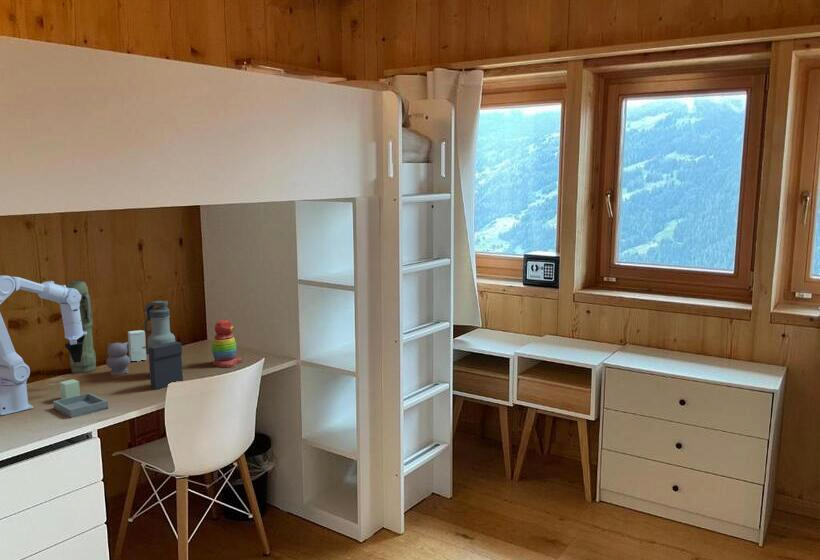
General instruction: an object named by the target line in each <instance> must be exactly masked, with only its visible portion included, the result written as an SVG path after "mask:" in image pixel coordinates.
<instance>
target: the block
mask: <svg viewBox="0 0 820 560" xmlns="http://www.w3.org/2000/svg"><path fill="white" fill-rule="evenodd" d="M59 387H60V388H59V389H60V391H59V392H60V399H65V398H69V397H73V396H77V395H81V388H80V381H78V380H76V379H74V378H73V379H68V380H63V381H60V382H59Z"/></svg>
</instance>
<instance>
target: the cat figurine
mask: <svg viewBox="0 0 820 560" xmlns="http://www.w3.org/2000/svg"><path fill="white" fill-rule="evenodd" d="M106 352H107V354H108V357H107V359H106V361H105V362H106V366H107V367H108V368H109V369H111V370H110V371H109V373H111V374H112V375H111V374H110V375H111V376H113V375H119V376H122V375H121V374H125V373H127V374H129V368H128V367H129V365H130V363H131V361H130V358H129V355H127V353H128V341H126V342H114V343H111V342H107V349H106ZM125 375H126V374H125Z"/></svg>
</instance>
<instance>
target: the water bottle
mask: <svg viewBox="0 0 820 560" xmlns="http://www.w3.org/2000/svg"><path fill="white" fill-rule="evenodd" d="M168 303H169V302H168V300H156V301H152V302H149V303H147V304H146V305H145V307H144V315H145V316H146V319H145V320H144V321H143V327H144V328H143V329H144V330H143V331H145V334H149V333H151V334H149V336H148V337H147V352H148V355H149V350H148V348H149V347H151V346H156V345H160V344H165V343H170V342H175V341H176V336H175V335H174V333H172V332H171V325H170V324H171V323H170V317H171V316H170V308H169V307H168ZM155 306H158V307H155ZM149 321H150V328H151V330H148V327H147V323H148V322H149ZM148 365H149V366H148V367H149V369H150V364H149V363H148Z"/></svg>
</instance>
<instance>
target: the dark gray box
mask: <svg viewBox="0 0 820 560" xmlns="http://www.w3.org/2000/svg"><path fill="white" fill-rule="evenodd" d="M182 345H183V344H182V342H179V341H176V340H175V342H170V343H165V344H160V345H156V346H151V347H149V348H148V347H147V351H148V350H149V354H148V365H149V364H150V368H149V377H150V387H151V389H153V390H160V389H164V388H168V387H167V385H168V384H169V383H171V382H176V381H183V382H184V377H183V376H184V375H183V374H184V373H183V361H182V359H183V358H182V354H183V348H182V347H183V346H182Z"/></svg>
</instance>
